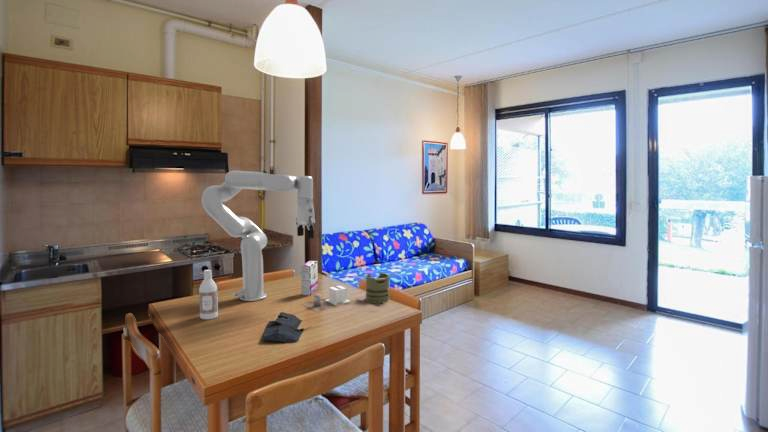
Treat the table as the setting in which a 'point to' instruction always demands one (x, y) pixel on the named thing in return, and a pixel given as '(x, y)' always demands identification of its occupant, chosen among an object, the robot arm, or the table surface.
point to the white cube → (337, 294)
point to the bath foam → (208, 297)
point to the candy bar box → (309, 277)
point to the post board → (324, 303)
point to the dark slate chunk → (283, 329)
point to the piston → (377, 288)
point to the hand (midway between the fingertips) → (305, 236)
